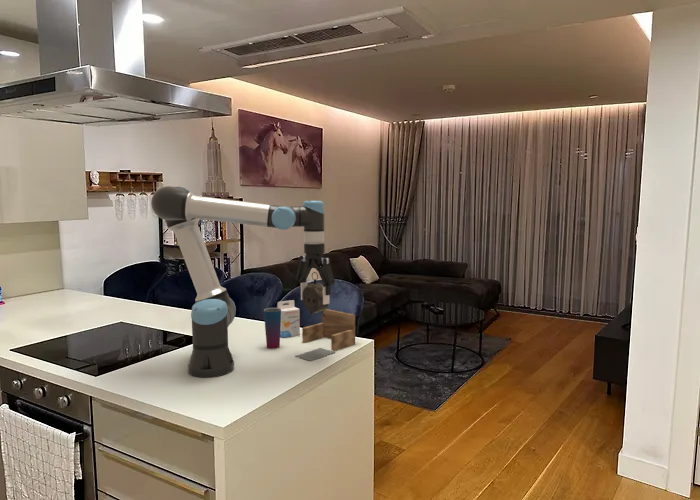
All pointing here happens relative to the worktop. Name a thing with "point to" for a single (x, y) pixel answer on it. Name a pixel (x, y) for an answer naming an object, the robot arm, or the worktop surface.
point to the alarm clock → (314, 297)
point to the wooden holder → (333, 329)
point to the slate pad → (315, 354)
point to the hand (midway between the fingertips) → (314, 301)
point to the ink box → (289, 319)
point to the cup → (272, 327)
